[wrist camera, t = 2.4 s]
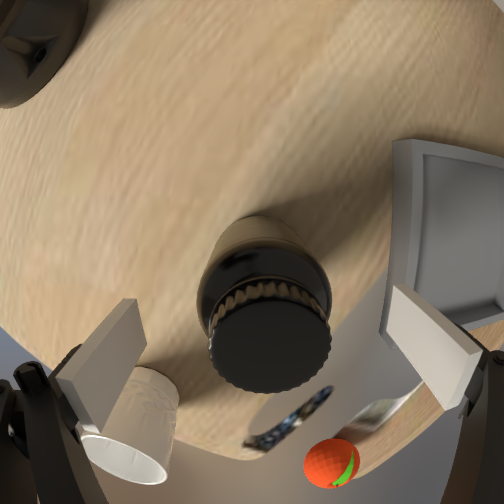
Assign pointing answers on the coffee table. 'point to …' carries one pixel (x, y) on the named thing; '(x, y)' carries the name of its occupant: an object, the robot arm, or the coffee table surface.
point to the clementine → (331, 463)
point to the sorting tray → (447, 231)
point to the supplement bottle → (265, 307)
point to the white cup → (138, 430)
